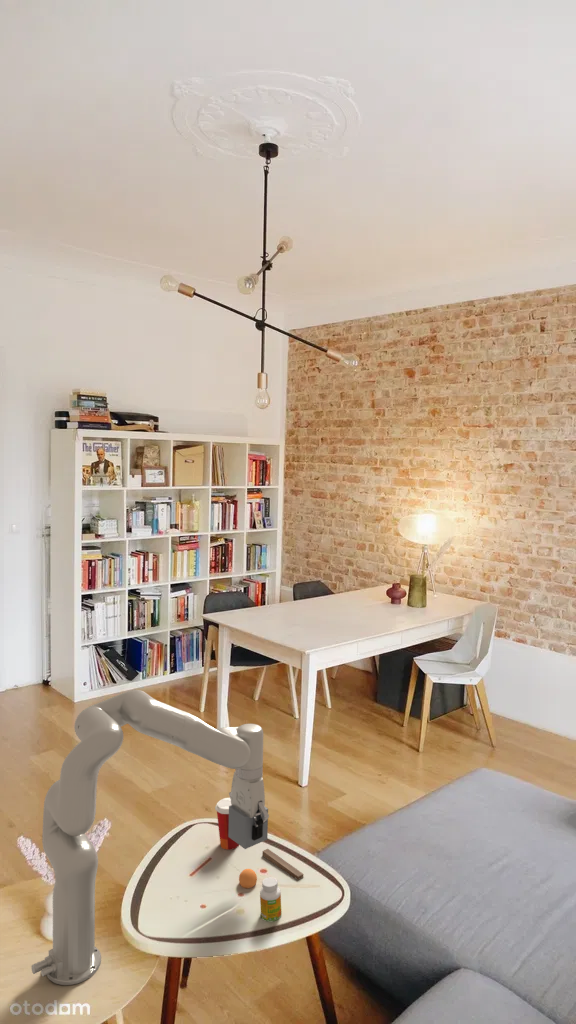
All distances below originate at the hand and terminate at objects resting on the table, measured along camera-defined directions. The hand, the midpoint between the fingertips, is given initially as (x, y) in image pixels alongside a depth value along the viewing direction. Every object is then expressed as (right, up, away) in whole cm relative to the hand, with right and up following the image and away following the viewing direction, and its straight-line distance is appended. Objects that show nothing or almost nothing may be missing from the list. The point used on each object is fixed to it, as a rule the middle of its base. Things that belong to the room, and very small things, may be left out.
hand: (247, 831), depth 188 cm
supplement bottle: (+7, -18, -11) cm, 22 cm away
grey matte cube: (0, -2, 0) cm, 2 cm away
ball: (0, -14, +1) cm, 14 cm away
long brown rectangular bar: (+9, -16, +10) cm, 21 cm away
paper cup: (-7, -15, +21) cm, 26 cm away
